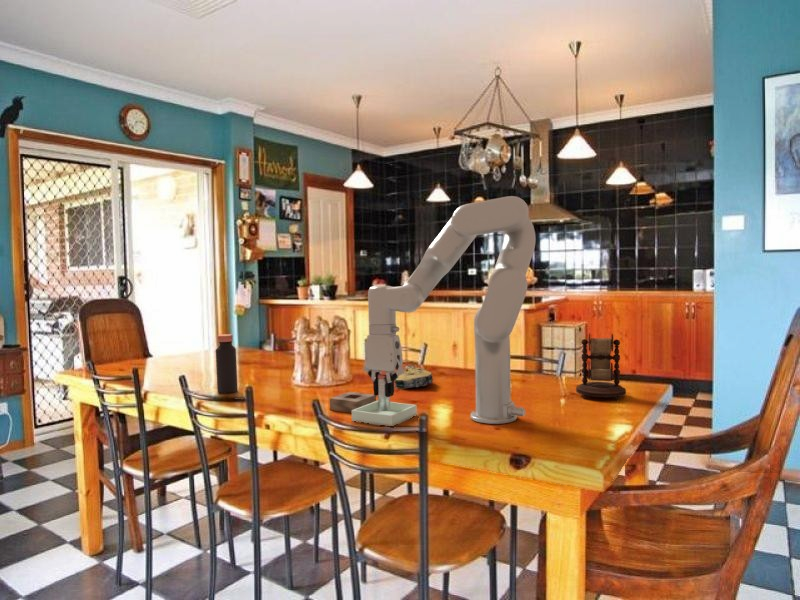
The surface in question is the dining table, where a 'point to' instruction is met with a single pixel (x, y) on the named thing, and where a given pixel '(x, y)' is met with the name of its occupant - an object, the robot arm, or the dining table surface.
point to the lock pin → (382, 393)
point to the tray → (384, 414)
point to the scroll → (600, 369)
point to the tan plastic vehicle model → (413, 378)
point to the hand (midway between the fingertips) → (383, 394)
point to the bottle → (226, 365)
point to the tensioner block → (350, 401)
